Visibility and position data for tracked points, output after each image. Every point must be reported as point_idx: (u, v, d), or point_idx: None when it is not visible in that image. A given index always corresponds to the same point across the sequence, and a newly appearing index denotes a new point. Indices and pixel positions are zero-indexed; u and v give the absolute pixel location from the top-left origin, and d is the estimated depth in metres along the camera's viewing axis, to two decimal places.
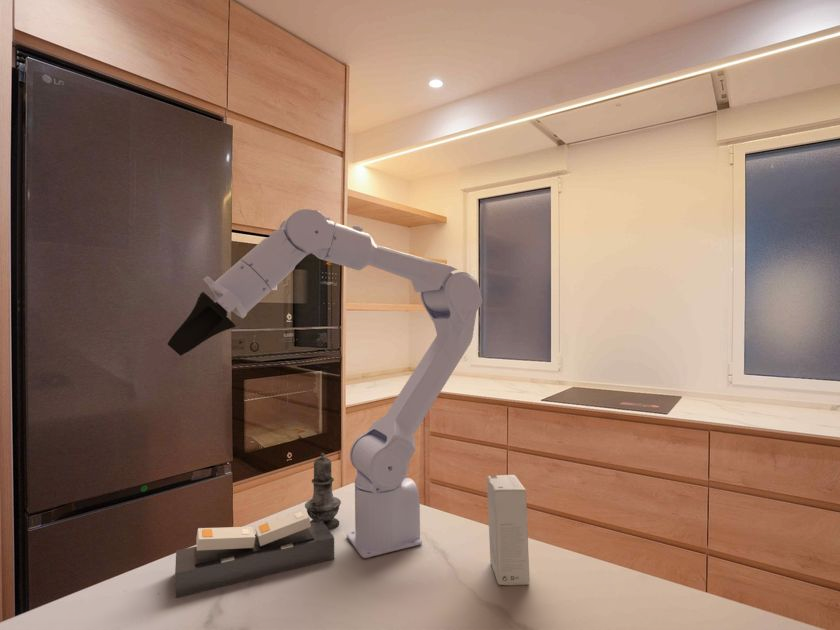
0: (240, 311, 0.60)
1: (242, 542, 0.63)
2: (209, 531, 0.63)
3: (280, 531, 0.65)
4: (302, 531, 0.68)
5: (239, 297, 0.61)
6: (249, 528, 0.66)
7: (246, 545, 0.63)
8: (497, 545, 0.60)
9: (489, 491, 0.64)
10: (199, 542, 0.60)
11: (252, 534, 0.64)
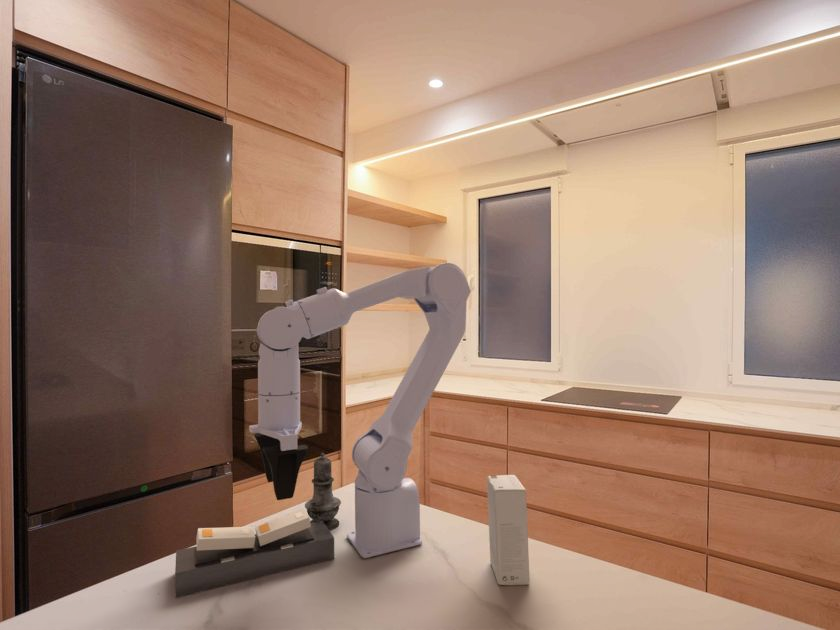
0: (298, 431, 0.64)
1: (242, 542, 0.63)
2: (209, 531, 0.63)
3: (280, 531, 0.65)
4: (302, 531, 0.68)
5: (287, 422, 0.64)
6: (249, 528, 0.66)
7: (246, 545, 0.63)
8: (497, 545, 0.60)
9: (489, 491, 0.64)
10: (199, 542, 0.60)
11: (252, 534, 0.64)
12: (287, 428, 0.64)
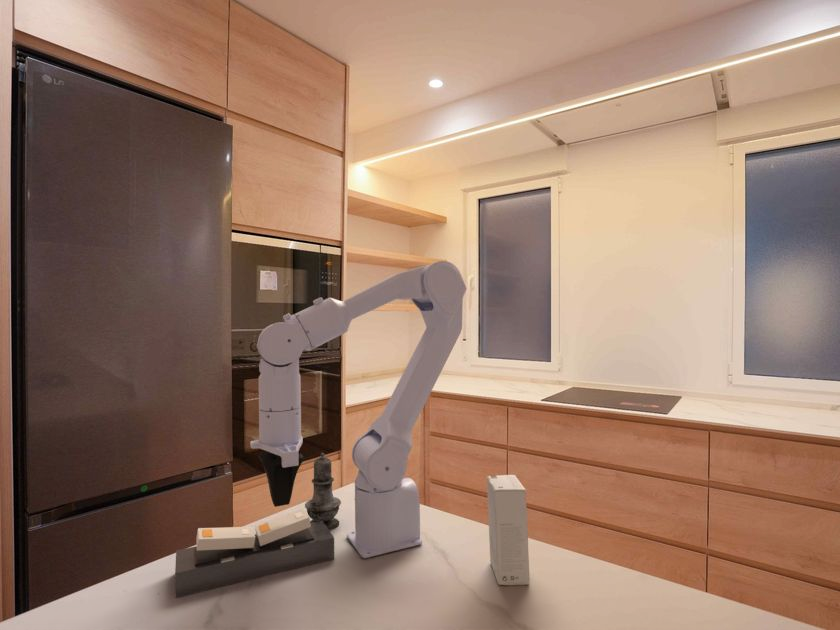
0: (299, 447, 0.64)
1: (242, 542, 0.63)
2: (209, 531, 0.63)
3: (280, 531, 0.65)
4: (302, 531, 0.68)
5: (288, 438, 0.64)
6: (249, 528, 0.66)
7: (246, 545, 0.63)
8: (497, 545, 0.60)
9: (489, 491, 0.64)
10: (199, 542, 0.60)
11: (252, 534, 0.64)
12: (288, 444, 0.64)
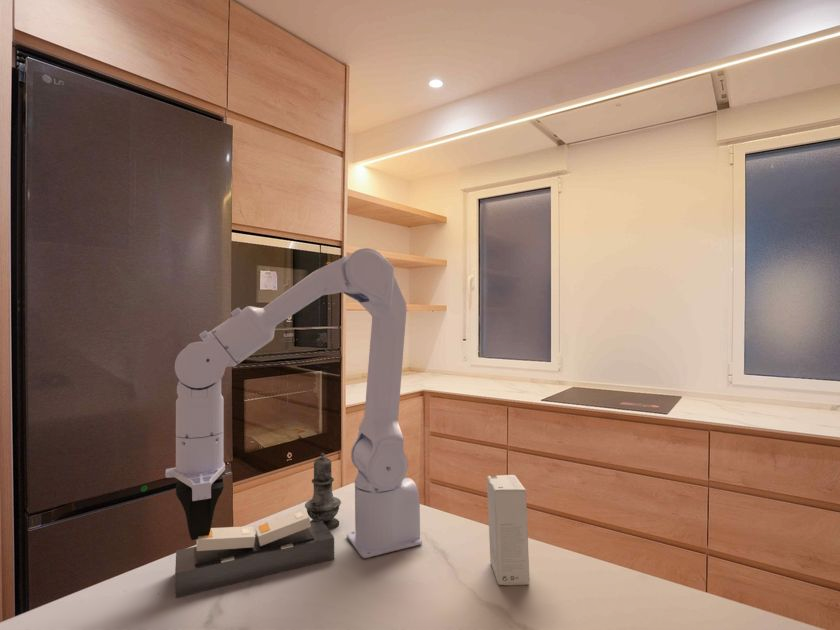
0: (217, 476, 0.60)
1: (242, 542, 0.63)
2: None
3: (280, 531, 0.65)
4: (302, 531, 0.68)
5: (206, 466, 0.60)
6: (249, 528, 0.66)
7: (246, 545, 0.63)
8: (497, 545, 0.60)
9: (489, 491, 0.64)
10: (199, 542, 0.60)
11: (252, 534, 0.64)
12: (205, 473, 0.60)
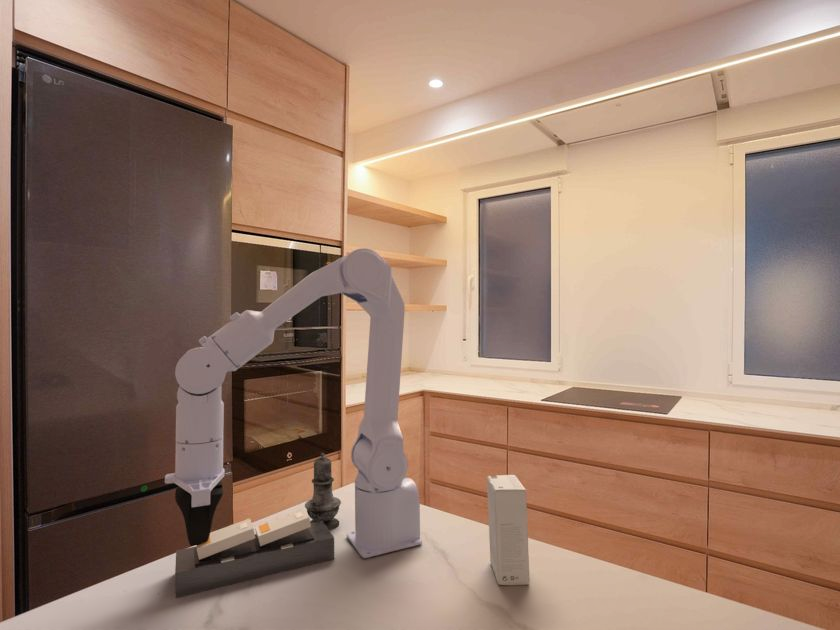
0: (217, 483, 0.60)
1: (242, 537, 0.63)
2: None
3: (280, 531, 0.65)
4: (302, 531, 0.68)
5: (205, 472, 0.60)
6: (247, 521, 0.66)
7: (247, 538, 0.63)
8: (497, 545, 0.60)
9: (489, 491, 0.64)
10: (198, 551, 0.60)
11: (250, 526, 0.64)
12: (205, 479, 0.60)
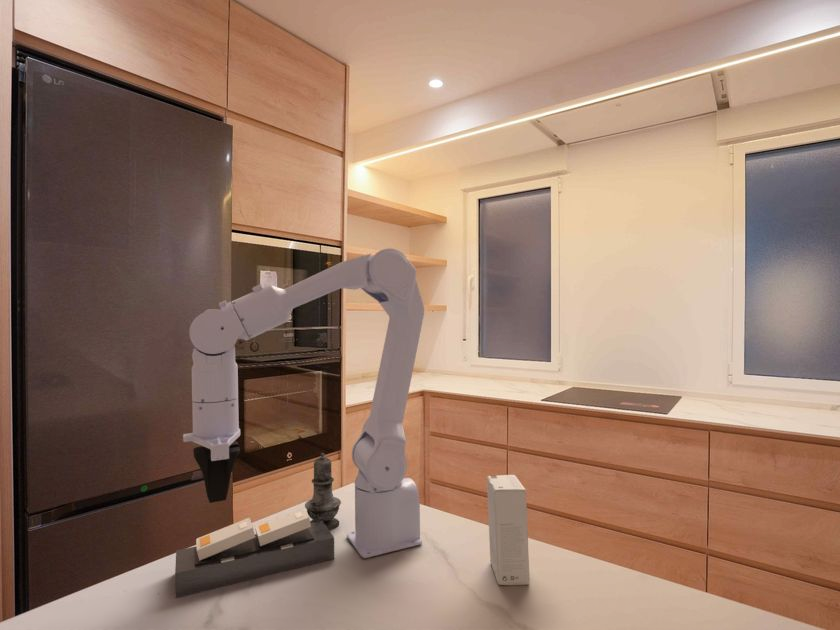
0: (234, 440, 0.61)
1: (242, 536, 0.63)
2: (207, 537, 0.63)
3: (280, 531, 0.65)
4: (302, 531, 0.68)
5: (222, 430, 0.61)
6: (247, 520, 0.66)
7: (247, 537, 0.63)
8: (497, 545, 0.60)
9: (489, 491, 0.64)
10: (198, 552, 0.60)
11: (250, 525, 0.64)
12: (222, 436, 0.61)
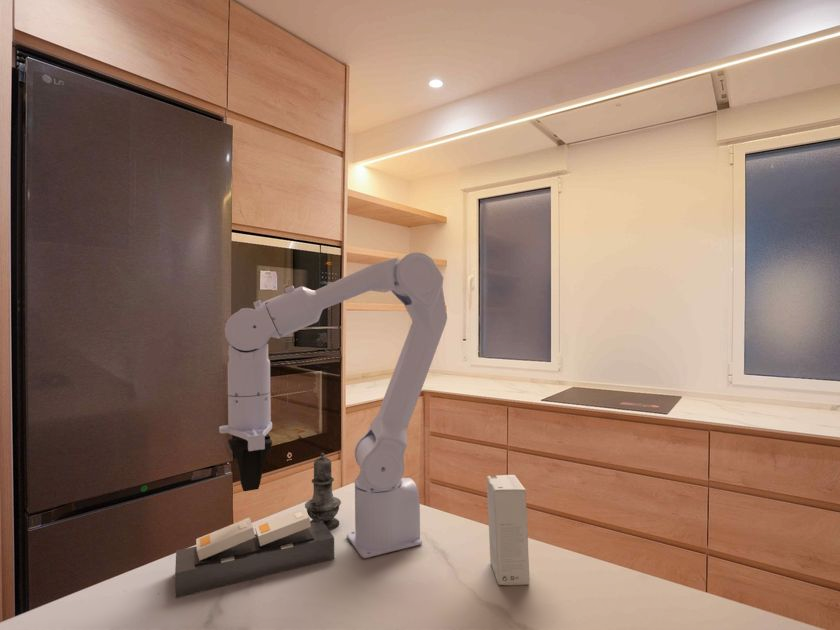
0: (267, 432, 0.65)
1: (242, 536, 0.63)
2: (207, 538, 0.63)
3: (280, 531, 0.65)
4: (302, 531, 0.68)
5: (256, 423, 0.65)
6: (247, 520, 0.66)
7: (247, 537, 0.63)
8: (497, 545, 0.60)
9: (489, 491, 0.64)
10: (198, 552, 0.60)
11: (250, 525, 0.64)
12: (256, 428, 0.65)
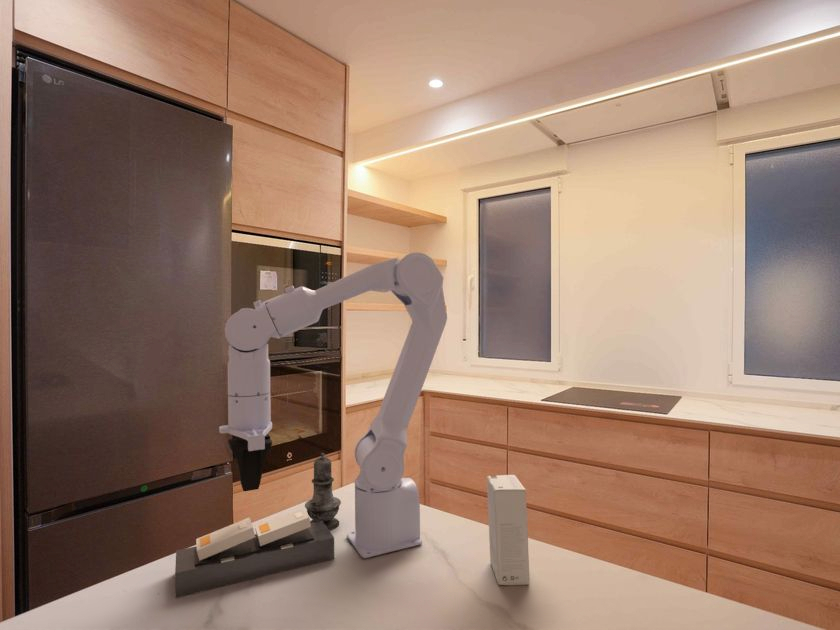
0: (267, 432, 0.65)
1: (242, 536, 0.63)
2: (207, 538, 0.63)
3: (280, 531, 0.65)
4: (302, 531, 0.68)
5: (256, 423, 0.65)
6: (247, 520, 0.66)
7: (247, 537, 0.63)
8: (497, 545, 0.60)
9: (489, 491, 0.64)
10: (198, 552, 0.60)
11: (250, 525, 0.64)
12: (256, 428, 0.65)
